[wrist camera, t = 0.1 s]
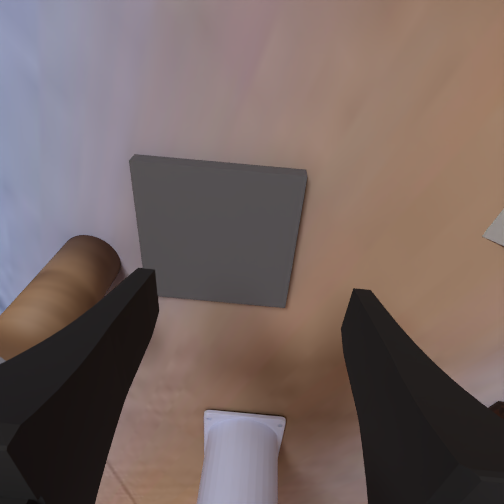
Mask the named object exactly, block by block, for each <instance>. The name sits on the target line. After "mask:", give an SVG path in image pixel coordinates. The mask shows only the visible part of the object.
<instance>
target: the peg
mask: <svg viewBox="0 0 504 504" xmlns="http://www.w3.org/2000/svg"><path fill="white" fill-rule="evenodd" d="M119 270H120V259H119V257H118V255H117V253H116V251H115V250H114V249H113V248H112V247H111V246H110V245H109V244H108V243H106V242H105V241H103V240H101V239H99V238H96V237H93V236H88V235H79V236H75V237H73V238H71V239H69V240H68V241H67V242H66V243H65V245H64V246H63V247H62V248H61V249H60V250H59V251H58V252H57V253H56V255H55V256H54V257H53V258H52V259H51V260H50V261H49V262H48V263H47V264H46V266H45V267H44V268H43V269H42V270H41V271H40V272H39V273H38V274H37V276H36V277H35V278H34V279H33V280H32V281H31V282H30V283H29V284H28V285H27V287H26V288H25V289H24V290H23V291H22V292H21V293H20V294H19V295H18V297H17V298H16V299H15V300H14V301H13V302H12V303H11V304H10V305H9V307H8V308H7V309H6V310H5V311H4V312H3V313H2V314H1V315H0V357H1V358H3V359H4V360H6V361H7V360H9V359H11V358H13V357H15V356H17V355H19V354H20V353H22V352H24V351H26V350H28V349H29V348H31V347H33V346H35V345H37V344H38V343H40V342H42V341H44V340H45V339H47V338H49V337H50V336H52V335H53V334H55V333H56V332H58V331H60V330H61V329H63V328H64V327H66V326H67V325H69V324H70V323H72V322H73V321H74V320H76V319H77V318H78V317H80V316H81V315H82V314H84V313H85V312H86V311H88V310H89V309H90V308H92V307H93V306H94V305H95V304H97V303H98V302H99V301H100V300H101V299H103V297H104V295H105V294H106V292H107V290H108V289H109V287H110V286H111V284H112V282H113V281H114V279H115V277H116V276H117V274H118V272H119Z"/></svg>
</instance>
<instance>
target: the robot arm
mask: <svg viewBox="0 0 504 504" xmlns="http://www.w3.org/2000/svg"><path fill="white" fill-rule="evenodd" d="M158 313H159V304H158V294H157V284H156V274H155V269H145V268H138V269H136V270H135V271H134V272H133V273H132V274H130V275H129V276H128V277H127V278H126V279H125V280H124V281H122V282H121V283H120V284H119V285H118V286H117V287H116V288H114V289H113V290H112V291H111V292H110V293H109V294H107V295H106V296H105V297H104V298H103V299H101V300H100V301H99V302H98V303H97V304H95V305H94V306H93V307H92V308H90V309H89V310H88V311H86V312H85V313H84V314H82V315H81V316H80V317H78V318H77V319H76V320H74V321H73V322H72V323H70V324H69V325H67V326H66V327H64V328H63V329H61V330H60V331H58V332H56V333H55V334H53V335H52V336H50V337H49V338H47V339H45V340H44V341H42V342H40V343H38V344H37V345H35V346H33V347H31V348H29V349H28V350H26V351H24V352H22V353H20V354H19V355H17V356H15V357H13V358H11V359H9V360H7V361H5V362H3V363H1V364H0V504H95V501H96V497H97V493H98V489H99V486H100V482H101V478H102V475H103V471H104V468H105V464H106V460H107V457H108V453H109V450H110V447H111V443H112V440H113V437H114V433H115V430H116V427H117V423H118V420H119V417H120V414H121V411H122V408H123V404H124V401H125V399H126V396H127V394H128V391H129V388H130V386H131V384H132V381H133V379H134V377H135V375H136V372H137V370H138V368H139V365H140V363H141V361H142V358H143V356H144V354H145V351H146V349H147V347H148V344H149V342H150V340H151V337H152V334H153V331H154V328H155V324H156V321H157V317H158ZM341 333H342V344H343V353H344V358H345V363H346V367H347V372H348V376H349V380H350V384H351V389H352V393H353V397H354V401H355V406H356V410H357V415H358V420H359V426H360V433H361V441H362V449H363V457H364V466H365V475H366V485H367V496H368V504H504V419H502V418H501V417H500V416H498V415H497V414H495V413H494V412H493V411H491V410H490V409H489V408H487V407H486V406H485V405H483V404H482V403H481V402H479V401H478V400H477V399H476V398H474V397H473V396H472V395H471V394H469V393H468V392H467V391H466V390H464V389H463V388H462V387H461V386H459V385H458V384H457V383H456V382H455V381H454V380H452V379H451V378H450V377H449V376H448V375H447V374H446V373H445V372H444V371H442V370H441V369H440V368H439V367H438V366H437V365H436V364H435V363H434V362H433V361H432V360H431V359H430V358H429V357H428V356H427V355H426V354H425V353H424V352H423V351H422V350H421V349H420V348H419V347H418V346H417V345H416V344H415V343H414V342H413V341H412V339H411V338H410V337H409V336H408V335H407V334H406V333H405V332H404V330H403V329H402V328H401V327H400V326H399V325H398V323H397V322H396V321H395V320H394V319H393V317H392V316H391V315H390V314H389V313H388V311H387V310H386V309H385V308H384V306H383V305H382V304H381V303H380V301H379V300H378V299H377V298H376V296H375V295H374V294H373V293H372V291H371V290H365V289H355V288H353V292H352V295H351V298H350V301H349V304H348V308H347V311H346V314H345V317H344V320H343V324H342V327H341ZM285 424H286V419H285V418H284V417H281V416H270V415H260V414H249V413H239V412H228V411H218V410H206V411H205V413H204V462H203V468H202V475H201V481H200V487H199V493H198V499H197V504H278V454H279V450H280V446H281V441H282V437H283V433H284V428H285Z"/></svg>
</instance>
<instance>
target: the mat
mask: <svg viewBox="0 0 504 504" xmlns="http://www.w3.org/2000/svg"><path fill="white" fill-rule="evenodd" d="M129 164H130V172H131V180H132V188H133V195H134V203H135V211H136V218H137V226H138V234H139V242H140V249H141V257H142V265H143V268H145V269H155V274H156V284H157V294H158V296H162V297H173V298H183V299H194V300H205V301H216V302H226V303H237V304H248V305H259V306H269V307H280V308H285V305H286V300H287V294H288V288H289V282H290V276H291V270H292V264H293V258H294V253H295V247H296V241H297V235H298V229H299V223H300V217H301V211H302V205H303V200H304V194H305V188H306V182H307V172H306V170H302V169H291V168H280V167H269V166H258V165H247V164H236V163H225V162H213V161H202V160H191V159H180V158H169V157H158V156H147V155H136V154H135V155H134V156H133V157H132V158H131V159H130V160H129Z"/></svg>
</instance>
